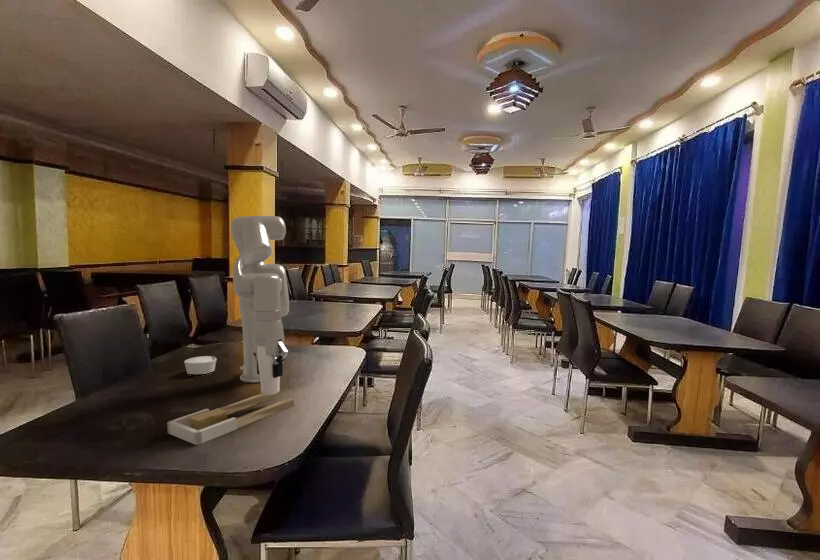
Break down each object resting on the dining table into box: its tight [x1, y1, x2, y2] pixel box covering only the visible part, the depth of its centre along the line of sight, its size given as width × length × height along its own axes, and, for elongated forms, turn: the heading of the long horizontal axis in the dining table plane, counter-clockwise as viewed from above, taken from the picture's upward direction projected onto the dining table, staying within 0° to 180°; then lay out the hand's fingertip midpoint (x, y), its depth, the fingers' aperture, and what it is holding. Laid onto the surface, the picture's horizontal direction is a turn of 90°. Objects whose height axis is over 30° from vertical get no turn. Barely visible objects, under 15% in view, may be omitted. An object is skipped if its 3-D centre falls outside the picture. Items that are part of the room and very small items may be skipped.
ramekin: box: [183, 355, 217, 375], centre depth 168 cm, size 11×11×5 cm
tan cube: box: [189, 413, 213, 430], centre depth 113 cm, size 4×4×4 cm
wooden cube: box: [206, 407, 229, 425], centre depth 116 cm, size 4×4×4 cm
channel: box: [218, 393, 295, 429], centre depth 126 cm, size 13×20×2 cm, turn 147°
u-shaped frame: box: [166, 408, 238, 446], centre depth 113 cm, size 13×11×3 cm
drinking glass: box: [257, 345, 281, 396], centre depth 131 cm, size 7×7×15 cm
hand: (269, 374), depth 131 cm, fingers closed on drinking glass, 6 cm apart
